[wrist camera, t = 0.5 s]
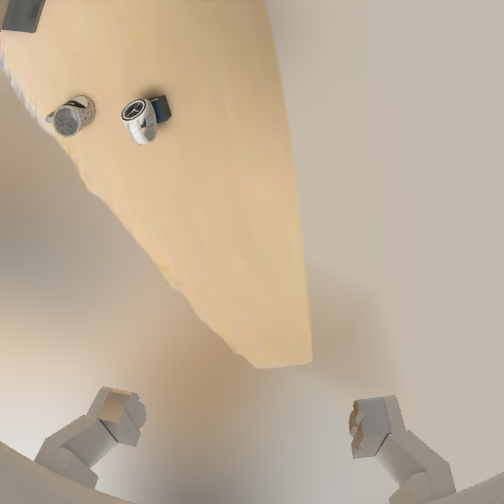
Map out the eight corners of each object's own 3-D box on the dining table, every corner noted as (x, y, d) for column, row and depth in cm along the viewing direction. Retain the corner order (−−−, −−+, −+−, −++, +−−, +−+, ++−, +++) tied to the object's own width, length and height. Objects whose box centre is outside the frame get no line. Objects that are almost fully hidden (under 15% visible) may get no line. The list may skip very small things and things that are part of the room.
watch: (162, 86, 47) (141, 102, 39) (173, 123, 52) (157, 146, 44) (135, 94, 48) (111, 113, 40) (148, 130, 53) (127, 154, 45)
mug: (95, 95, 47) (79, 105, 42) (95, 124, 51) (80, 138, 47) (56, 96, 46) (39, 106, 41) (58, 123, 50) (42, 136, 45)
